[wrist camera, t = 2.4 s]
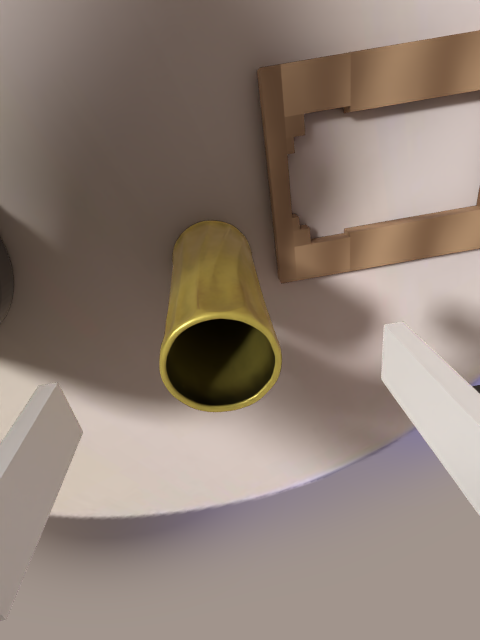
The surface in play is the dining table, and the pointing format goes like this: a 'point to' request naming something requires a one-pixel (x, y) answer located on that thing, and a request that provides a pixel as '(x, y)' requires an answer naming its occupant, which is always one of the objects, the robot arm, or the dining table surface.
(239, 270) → the vase
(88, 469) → the dining table surface
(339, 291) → the dining table surface
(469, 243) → the keyhole board
